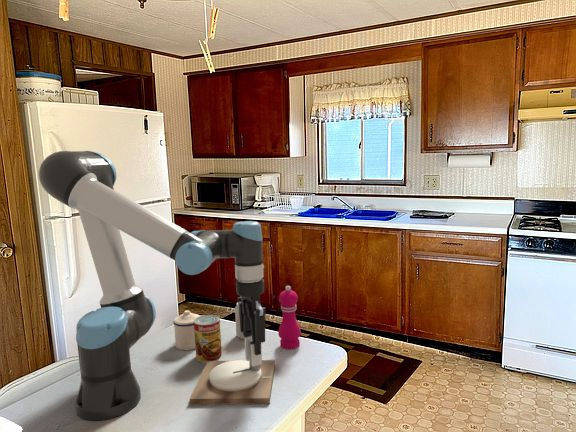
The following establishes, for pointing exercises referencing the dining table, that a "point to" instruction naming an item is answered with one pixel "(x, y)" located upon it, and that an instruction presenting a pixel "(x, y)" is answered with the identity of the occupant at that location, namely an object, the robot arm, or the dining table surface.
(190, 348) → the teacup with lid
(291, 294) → the pepper mill
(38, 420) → the dining table surface
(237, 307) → the can
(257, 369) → the dial
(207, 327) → the canned food
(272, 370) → the dial board
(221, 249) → the robot arm
